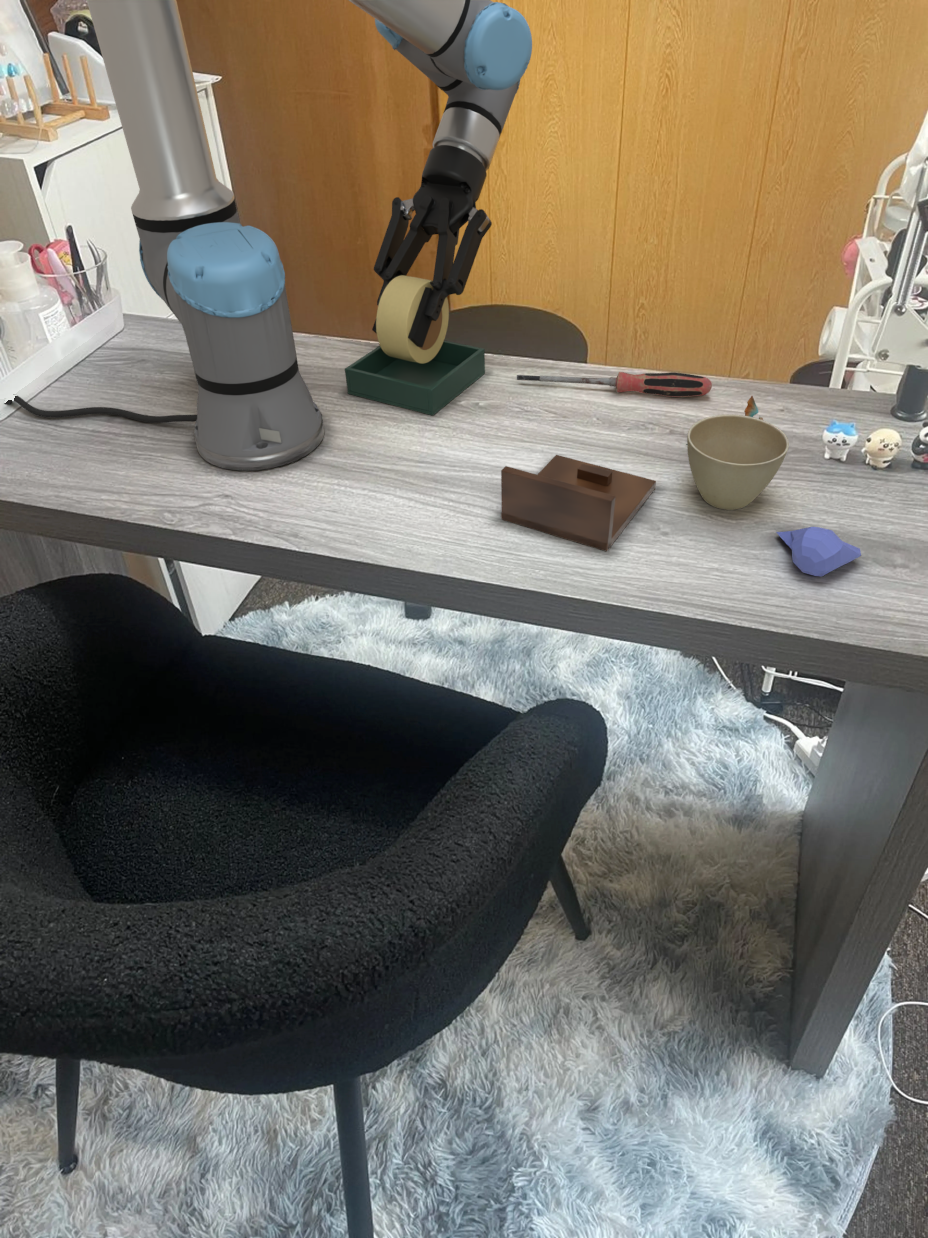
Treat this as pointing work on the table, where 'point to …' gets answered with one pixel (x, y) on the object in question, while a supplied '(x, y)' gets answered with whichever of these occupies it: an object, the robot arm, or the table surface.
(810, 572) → the bird figurine
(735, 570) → the table surface
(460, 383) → the tray
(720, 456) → the flower pot
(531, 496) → the phone holder
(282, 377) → the robot arm
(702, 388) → the screwdriver
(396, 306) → the tape roll
